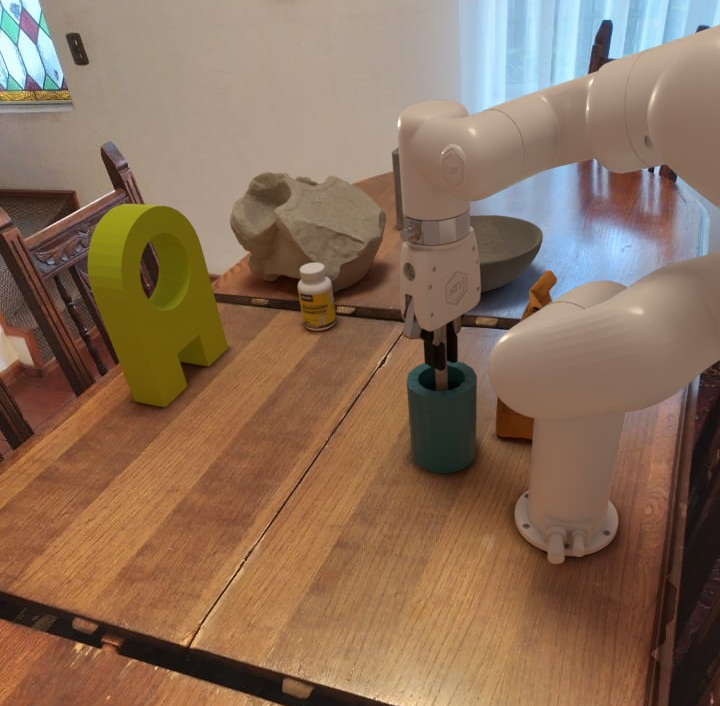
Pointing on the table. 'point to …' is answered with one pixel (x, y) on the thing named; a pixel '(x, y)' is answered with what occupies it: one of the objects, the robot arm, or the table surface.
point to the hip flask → (397, 189)
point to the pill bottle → (316, 297)
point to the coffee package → (506, 418)
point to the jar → (442, 418)
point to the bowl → (504, 248)
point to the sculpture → (308, 227)
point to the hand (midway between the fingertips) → (441, 362)
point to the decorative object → (154, 299)
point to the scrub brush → (443, 375)
